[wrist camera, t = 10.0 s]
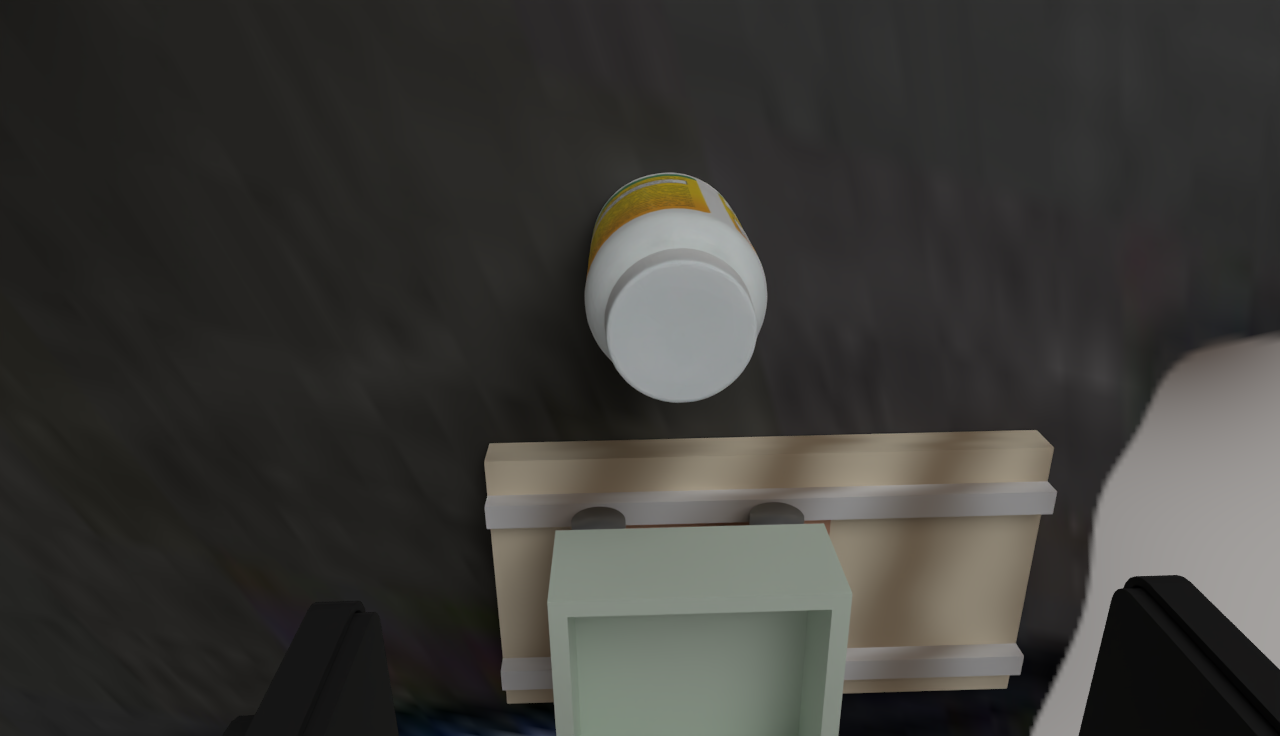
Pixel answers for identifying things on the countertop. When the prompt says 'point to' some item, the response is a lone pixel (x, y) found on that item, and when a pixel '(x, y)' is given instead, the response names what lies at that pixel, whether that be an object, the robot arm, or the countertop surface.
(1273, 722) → the robot arm
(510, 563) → the track
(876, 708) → the countertop surface
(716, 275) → the supplement bottle
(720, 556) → the sage green storage bin
